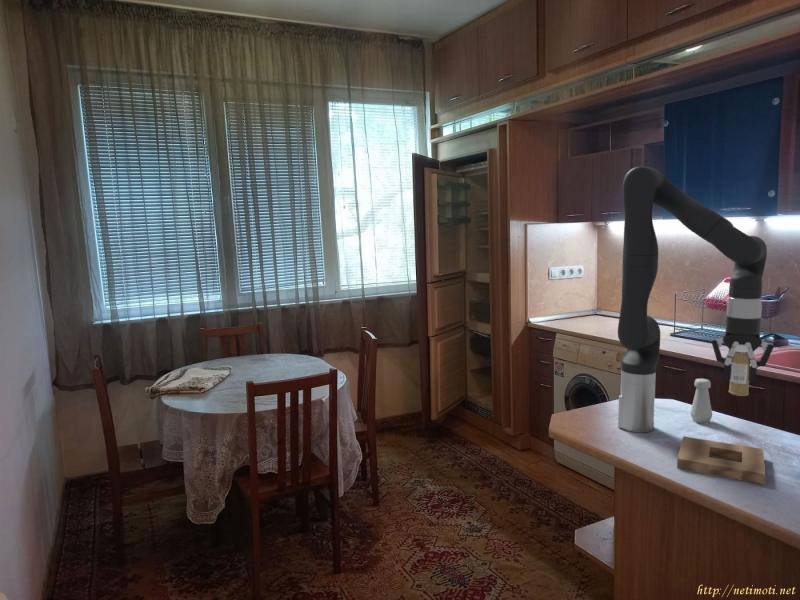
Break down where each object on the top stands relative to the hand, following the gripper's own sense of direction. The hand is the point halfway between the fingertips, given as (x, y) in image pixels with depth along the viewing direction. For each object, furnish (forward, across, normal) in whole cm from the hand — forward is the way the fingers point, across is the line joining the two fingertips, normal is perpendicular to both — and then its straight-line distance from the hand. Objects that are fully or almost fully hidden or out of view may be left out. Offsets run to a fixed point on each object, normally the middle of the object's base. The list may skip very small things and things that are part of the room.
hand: (739, 379), depth 141 cm
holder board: (+19, -3, -11) cm, 22 cm away
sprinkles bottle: (+4, 0, 0) cm, 4 cm away
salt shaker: (+19, -9, +19) cm, 29 cm away
